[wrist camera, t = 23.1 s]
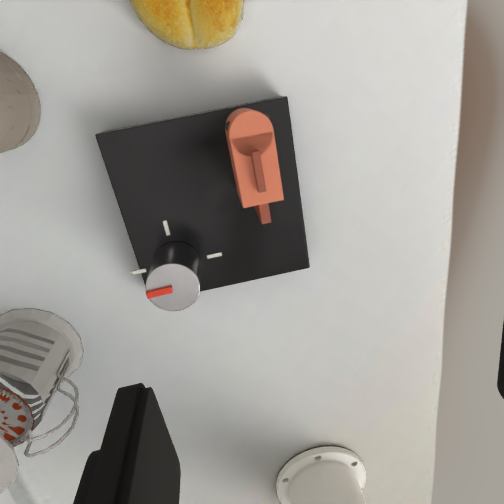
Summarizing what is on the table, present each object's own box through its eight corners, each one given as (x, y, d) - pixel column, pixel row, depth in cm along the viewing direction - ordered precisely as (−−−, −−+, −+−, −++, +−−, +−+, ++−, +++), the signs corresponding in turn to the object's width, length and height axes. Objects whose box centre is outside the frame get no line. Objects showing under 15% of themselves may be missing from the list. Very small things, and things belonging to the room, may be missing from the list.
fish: (276, 202, 35) (290, 223, 29) (239, 210, 35) (247, 232, 29) (260, 104, 31) (273, 106, 26) (220, 112, 31) (223, 116, 26)
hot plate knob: (193, 236, 35) (191, 259, 30) (205, 278, 37) (206, 306, 32) (146, 247, 35) (137, 272, 30) (160, 288, 37) (154, 318, 32)
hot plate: (304, 264, 40) (311, 275, 38) (148, 298, 40) (144, 312, 37) (281, 96, 34) (287, 96, 31) (92, 133, 33) (84, 136, 31)
